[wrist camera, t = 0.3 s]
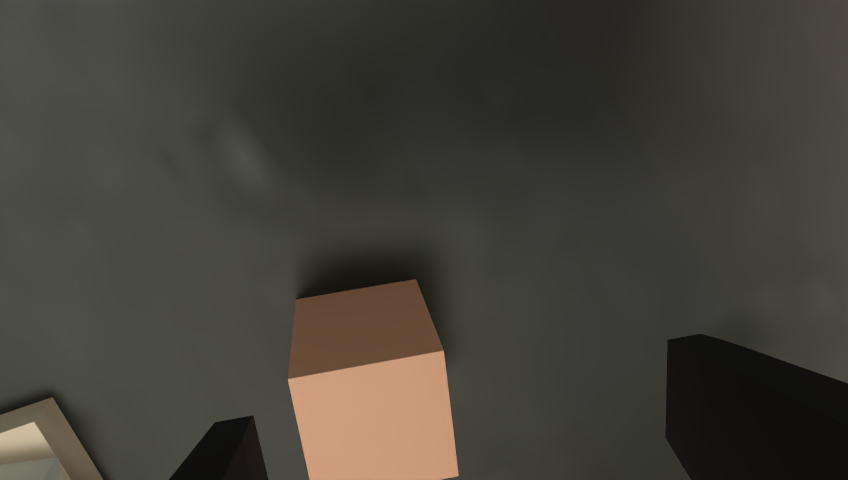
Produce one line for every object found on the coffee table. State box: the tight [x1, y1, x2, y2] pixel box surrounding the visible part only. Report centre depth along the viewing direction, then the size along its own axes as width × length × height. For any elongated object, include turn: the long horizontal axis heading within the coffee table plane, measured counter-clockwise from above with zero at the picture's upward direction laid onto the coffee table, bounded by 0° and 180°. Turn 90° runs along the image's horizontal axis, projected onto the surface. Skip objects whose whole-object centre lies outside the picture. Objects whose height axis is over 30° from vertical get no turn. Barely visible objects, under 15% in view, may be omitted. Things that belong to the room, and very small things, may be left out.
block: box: [288, 279, 459, 480], centre depth 19 cm, size 4×4×5 cm
